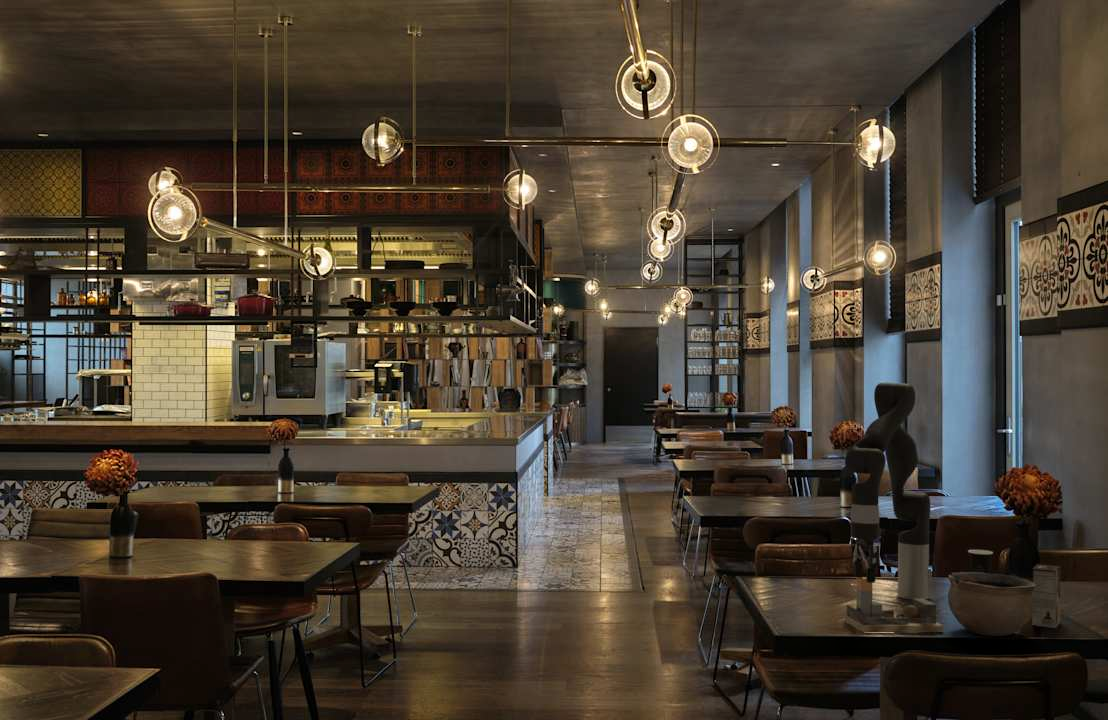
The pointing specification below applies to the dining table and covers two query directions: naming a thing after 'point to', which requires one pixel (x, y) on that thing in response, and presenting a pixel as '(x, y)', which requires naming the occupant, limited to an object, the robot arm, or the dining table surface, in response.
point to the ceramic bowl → (990, 602)
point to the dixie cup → (980, 560)
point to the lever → (867, 599)
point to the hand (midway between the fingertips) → (864, 579)
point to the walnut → (910, 611)
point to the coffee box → (1046, 595)
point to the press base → (897, 620)
